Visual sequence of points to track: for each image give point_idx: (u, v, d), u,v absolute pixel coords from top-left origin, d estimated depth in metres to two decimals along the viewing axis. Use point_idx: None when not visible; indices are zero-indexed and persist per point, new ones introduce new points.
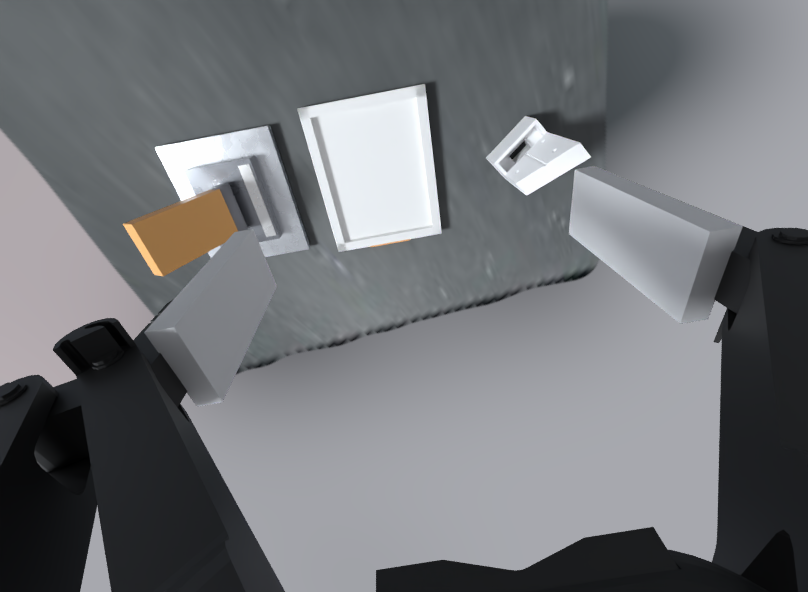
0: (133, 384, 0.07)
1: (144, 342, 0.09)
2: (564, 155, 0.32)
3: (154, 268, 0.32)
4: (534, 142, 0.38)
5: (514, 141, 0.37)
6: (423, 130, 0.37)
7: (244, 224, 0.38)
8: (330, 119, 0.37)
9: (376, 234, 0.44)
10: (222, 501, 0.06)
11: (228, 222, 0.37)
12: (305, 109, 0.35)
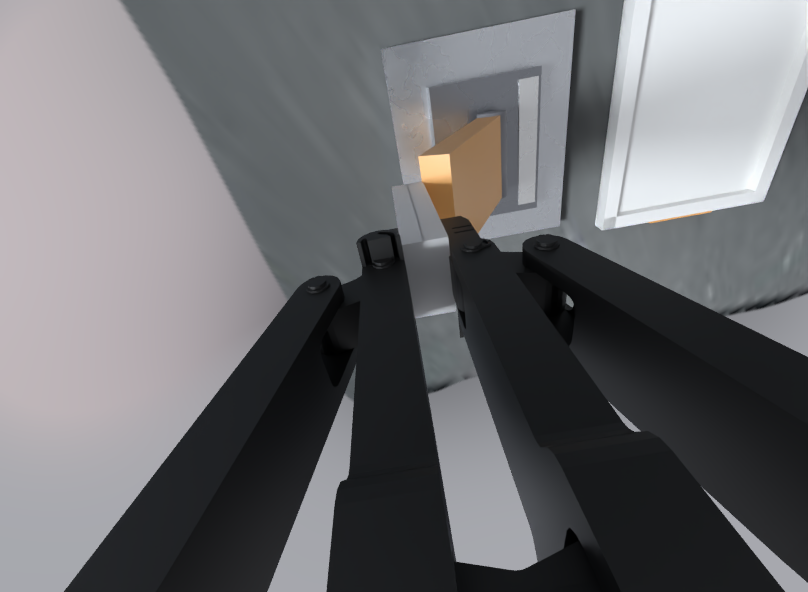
0: (395, 290, 0.09)
1: None
2: None
3: None
4: None
5: None
6: None
7: None
8: None
9: (661, 203, 0.29)
10: (431, 421, 0.06)
11: (499, 175, 0.22)
12: None
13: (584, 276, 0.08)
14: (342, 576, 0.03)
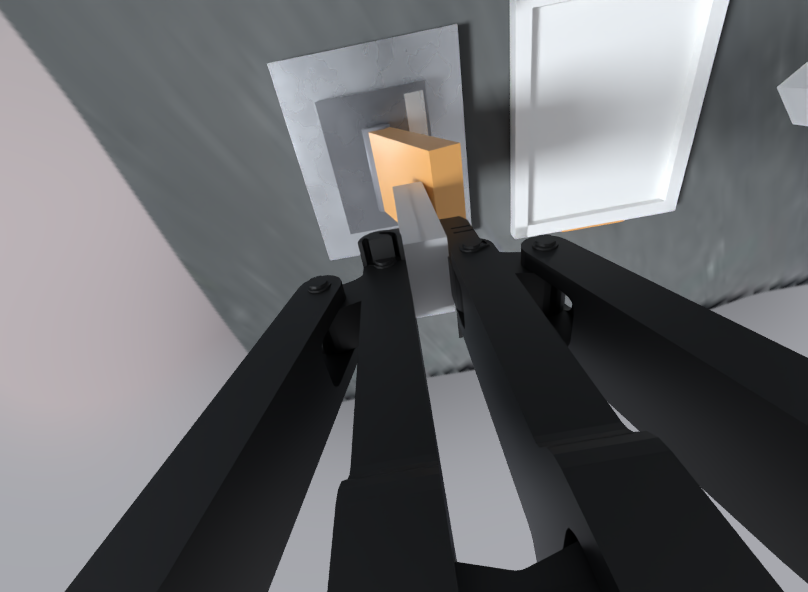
0: (397, 290, 0.09)
1: None
2: None
3: None
4: None
5: None
6: (710, 33, 0.22)
7: None
8: (559, 13, 0.22)
9: (573, 212, 0.29)
10: (432, 421, 0.06)
11: None
12: None
13: (583, 276, 0.08)
14: (343, 576, 0.03)
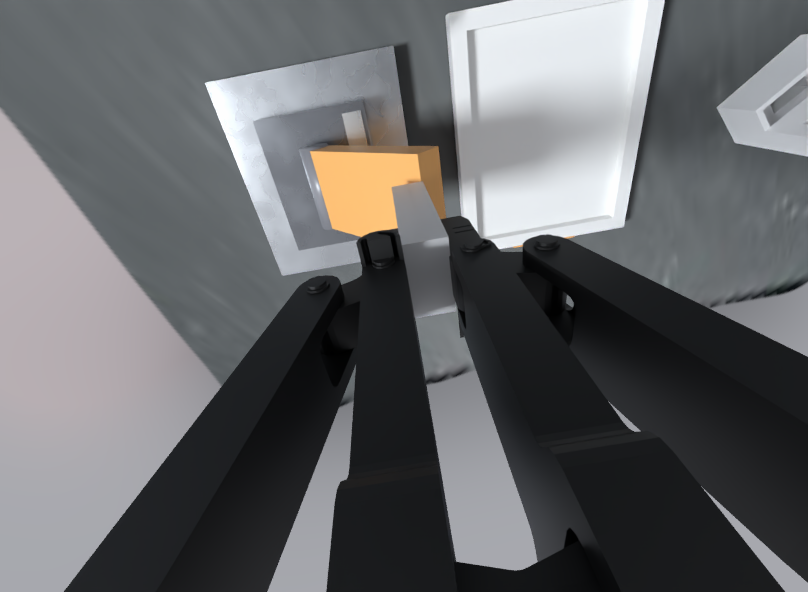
0: (395, 290, 0.09)
1: None
2: None
3: None
4: None
5: (801, 72, 0.22)
6: (644, 56, 0.23)
7: None
8: (495, 36, 0.22)
9: (524, 228, 0.29)
10: (431, 421, 0.06)
11: None
12: (462, 14, 0.21)
13: (584, 276, 0.08)
14: (342, 576, 0.03)
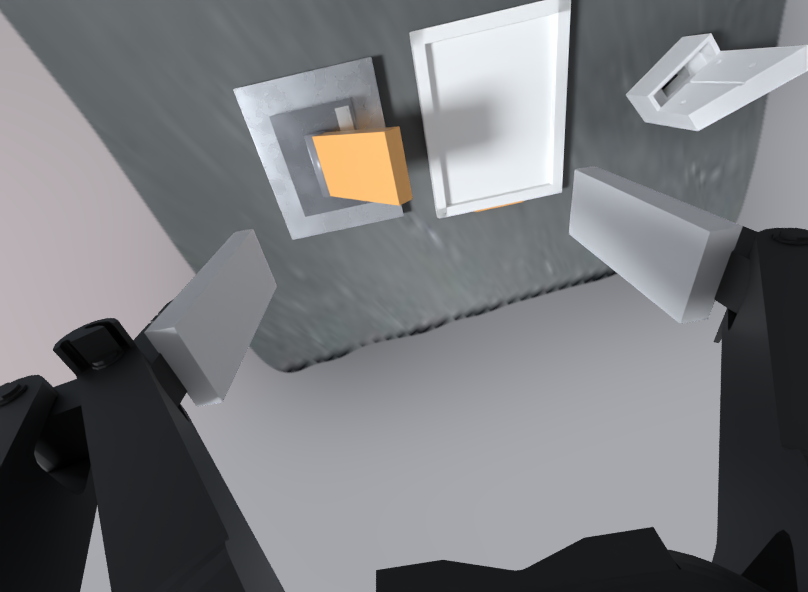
0: (133, 384, 0.07)
1: (144, 341, 0.09)
2: (776, 67, 0.24)
3: (404, 191, 0.26)
4: (695, 69, 0.31)
5: (677, 65, 0.29)
6: (560, 57, 0.30)
7: None
8: (446, 46, 0.30)
9: (483, 196, 0.37)
10: (222, 501, 0.06)
11: None
12: (420, 32, 0.28)
13: None
14: None
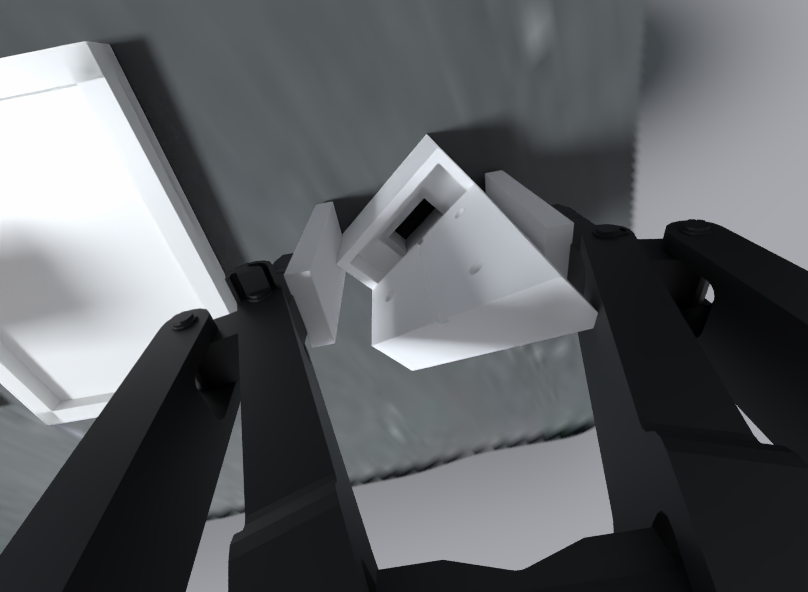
0: (276, 321, 0.08)
1: None
2: (502, 306, 0.08)
3: None
4: (451, 204, 0.14)
5: (383, 209, 0.13)
6: (138, 176, 0.13)
7: None
8: None
9: None
10: (331, 443, 0.06)
11: None
12: None
13: (734, 264, 0.07)
14: None
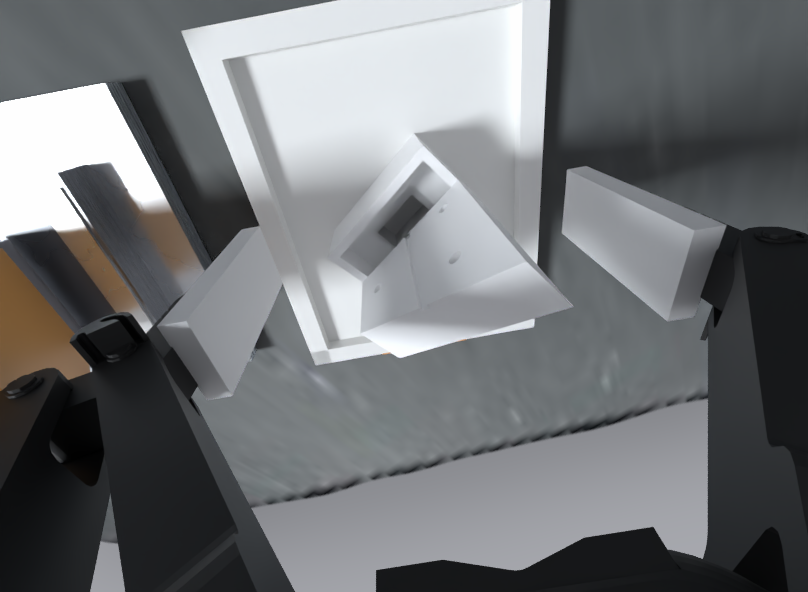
0: (146, 377, 0.07)
1: (156, 336, 0.10)
2: (476, 291, 0.09)
3: None
4: (438, 201, 0.15)
5: (371, 205, 0.14)
6: (529, 99, 0.14)
7: (79, 325, 0.16)
8: (282, 67, 0.14)
9: None
10: (231, 494, 0.06)
11: (62, 324, 0.14)
12: (205, 33, 0.12)
13: None
14: None
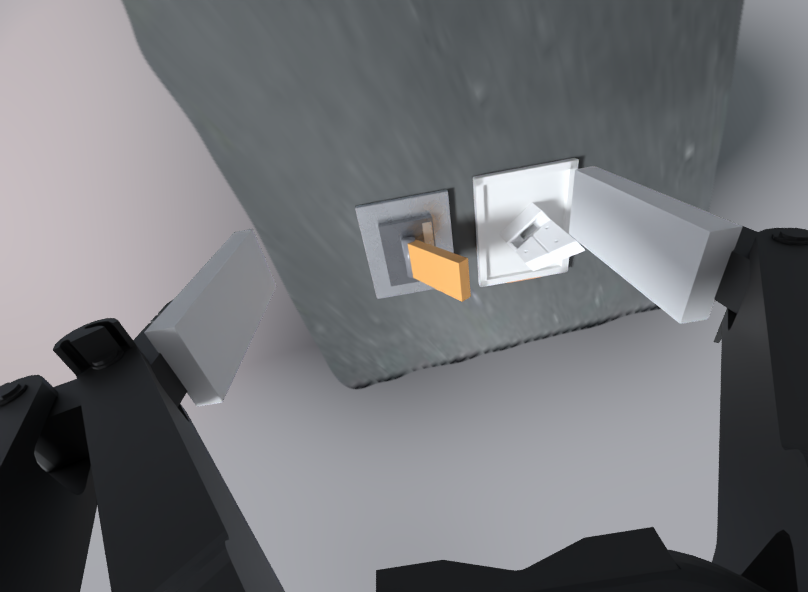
0: (133, 384, 0.07)
1: (144, 342, 0.09)
2: (564, 247, 0.40)
3: (466, 293, 0.40)
4: (540, 224, 0.47)
5: (523, 226, 0.45)
6: (570, 193, 0.46)
7: None
8: (496, 185, 0.45)
9: (512, 272, 0.52)
10: (222, 501, 0.06)
11: None
12: (481, 179, 0.44)
13: None
14: None
